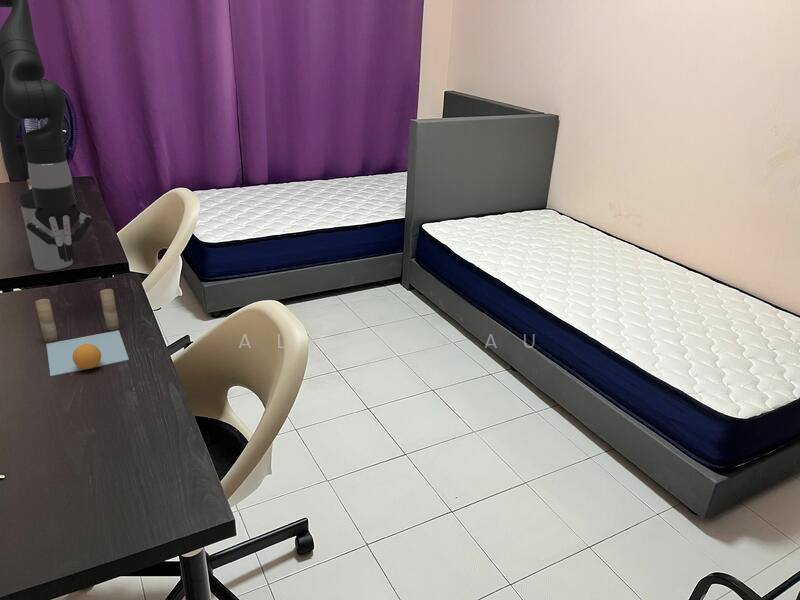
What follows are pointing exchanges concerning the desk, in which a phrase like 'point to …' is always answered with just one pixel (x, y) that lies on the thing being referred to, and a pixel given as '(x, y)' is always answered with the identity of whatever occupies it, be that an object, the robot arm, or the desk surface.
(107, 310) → the post
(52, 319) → the post
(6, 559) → the desk surface
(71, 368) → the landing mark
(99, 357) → the ball
